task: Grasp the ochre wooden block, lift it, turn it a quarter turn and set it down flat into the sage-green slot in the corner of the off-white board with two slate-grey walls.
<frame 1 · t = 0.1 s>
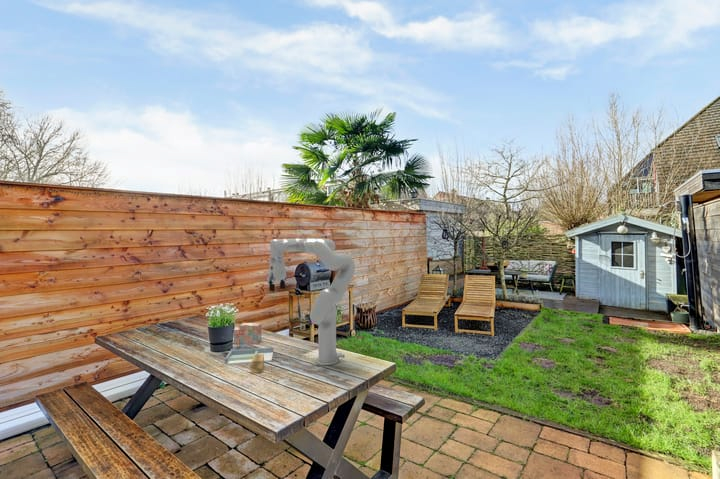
hand: (277, 289, 196), 37 cm above the table, tool pointing down, fingers open, 9 cm apart
ochre block: (258, 369, 174), on the table
arena: (250, 358, 190), on the table
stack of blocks: (243, 343, 219), on the table
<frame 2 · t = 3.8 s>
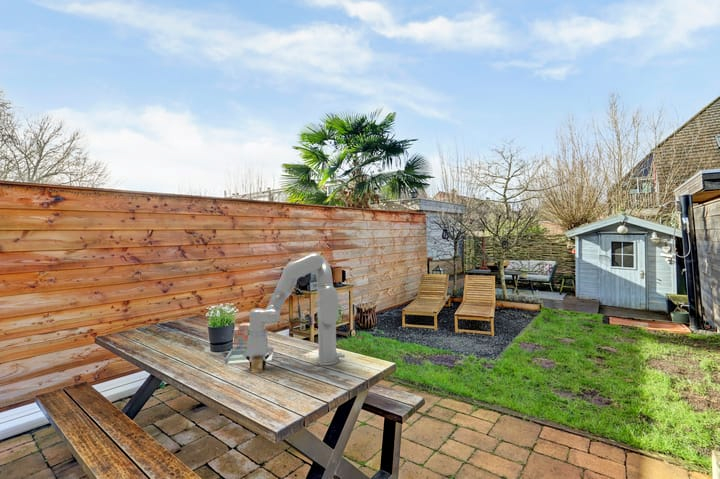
hand: (257, 368, 174), 1 cm above the table, tool pointing down, fingers closed on ochre block, 5 cm apart
ochre block: (257, 369, 174), on the table, touching gripper
when the fingers open (4 cm above the table, at t = 10.1 s): ochre block drops 2 cm, resting on arena.
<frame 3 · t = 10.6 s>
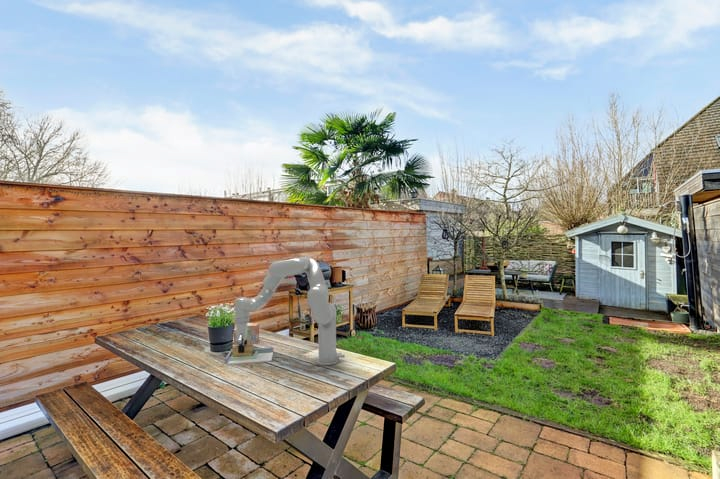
hand: (242, 349, 191), 4 cm above the table, tool pointing down, fingers open, 9 cm apart
ochre block: (242, 356, 191), point 1 cm above the table, touching arena
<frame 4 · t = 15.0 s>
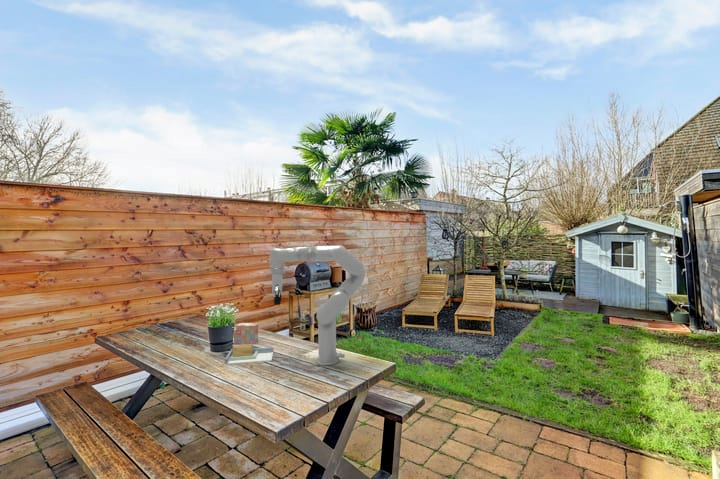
hand: (277, 302, 183), 32 cm above the table, tool pointing down, fingers open, 9 cm apart
at the end: ochre block 0.0 cm from the target spot on the arena, point 0.6 cm above the arena's base; ochre block tilted 0°; the gripper is holding nothing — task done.
